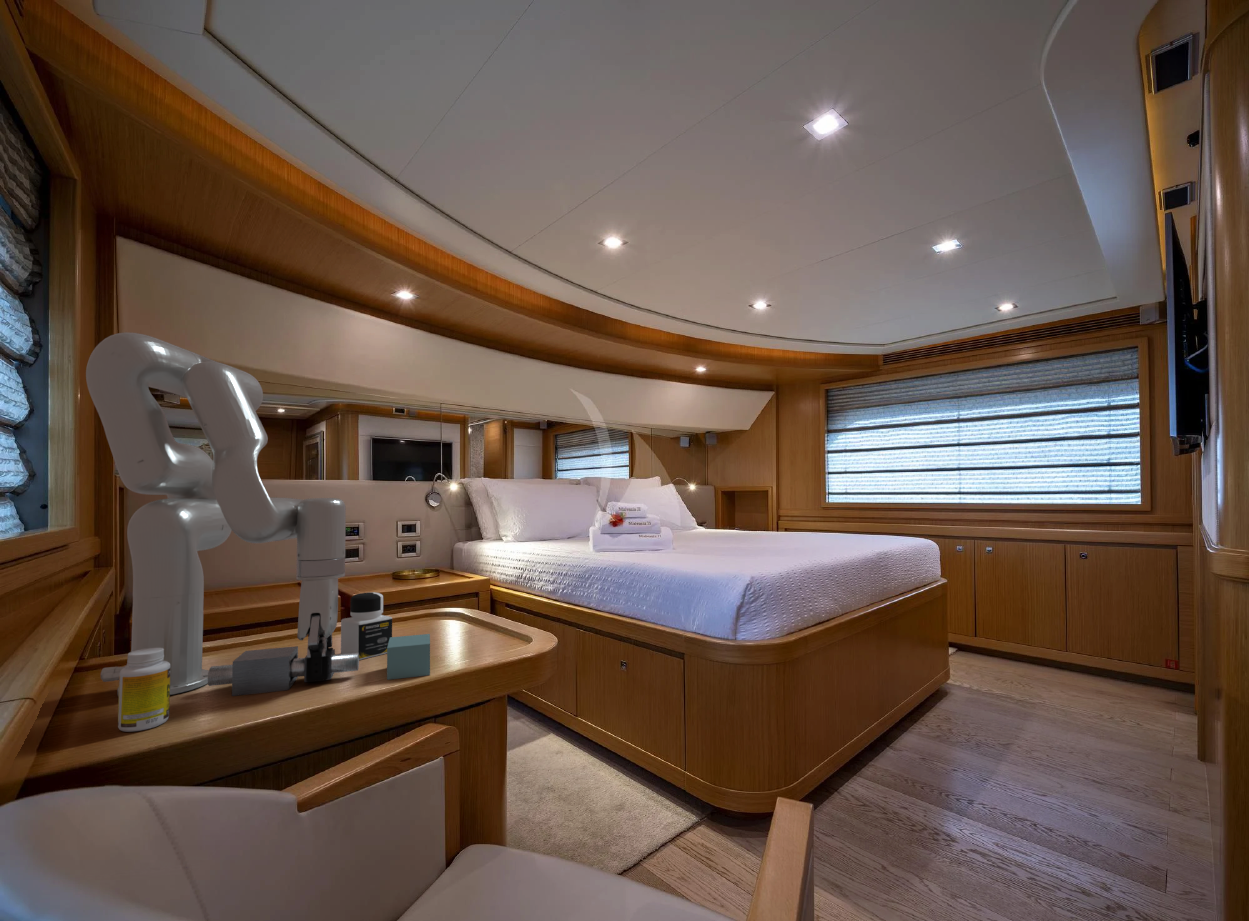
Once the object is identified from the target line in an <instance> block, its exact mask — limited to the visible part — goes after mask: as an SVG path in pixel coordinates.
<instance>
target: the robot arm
mask: <svg viewBox="0 0 1249 921" xmlns="http://www.w3.org/2000/svg"><path fill="white" fill-rule="evenodd" d="M85 369H86V370H85V379H86V380H85V381H86V386H87V390H88V392H89V395H90V397H91V400H92V402H93V405H94V407H95V409H96V412H97V414H98V416H99V418H100V421H101V424H102V426H103V430H104V433H105V434H104V435H105V437H106V440H107V443H108V445H109V448H110V451H111V454H112V457H113V458H112V459H113V461H114V463H115V467H116V470H117V472H118V475H119V478H120V480H121V482H122V483H123V485H124V487H126V488H127V489H128V490H130V491H131V492H133V493H137V494H141V495H151V496H152V495H154V496H156V495H159V496H162V495H163V496H166V497H167V498H163V499H157V500H154V501H150V502H148V503H145V504H143V505H142V506H141V507H139V508H137V510H135V512H134V513H133V514H132V516H131V518H130V519H129V521H128V524H127V529H126V530H127V532H126V533H127V534H126V535H127V536H126V537H127V542H128V548H129V551H130V557H131V564H132V616H131V620H132V621H131V622H132V623H131V645H130V646H131V650H130V652H133V651H136V650H141V649H147V648H163V649H164V659H163V660H162V661H167V662H169V663H170V696H173V695H176V694H181V693H185V692H188V691H193V690H196V689H198V688H201V687H203V686H205V685H208V672H209V669H203V644H204V643H203V639H204V637H203V635H204V599H205V598H204V594H205V593H204V592H205V587H204V586H205V581H204V580H205V576H204V569H203V565H202V562H201V559H200V556H199V551H206V550H207V551H208V550H210V549H215V548H217V547H219V546H220V545H222V544H223V543H225V542H226V541H227V539H228V538H229V537H230V535H231V533H232V532H233V533H234V534H235V535H236V536H237V537H238V538H239V539H241V540H242V541H244V542H246V543H251V544H265V543H270V542H279V541H286V540H292V539H296V575H295V576H296V577H295V578H296V580H297V581H301V585H300V591H299V603H298V604H299V605H298V619H297V621H298V622H297V639H298V641H303V640H304V639H305V638H306V637H307V650H306V651H307V653H306V655H307V660H306V681H307V682H306V683H312V682H321V681H328V680H327V678H328V655H326V650H331V649H334V648H333V633H334V631H335V629H336V628H337V624H338V612H339V579H340V578H344V577H345V576H346V528H347V527H346V523H347V522H346V519H347V518H346V517H347V516H346V514H347V513H346V503H345V502H344V500H343V499H340V498H335V497H315V498H313V497H312V498H305V499H301V498H293V497H292V498H291V497H277V496H276V497H270V496H269V494H268V492H267V490H266V487H265V486H264V484H263V482H262V479H261V477H260V474H259V469H258V457H259V454H260V452H261V450H262V449H263V448H264V447H266V446H267V444H268V439H269V438H268V434H267V432H266V430H265V428H264V426H263V424H262V421H261V419H260V418H259V416H258V414H257V410H259V408H260V406H261V405H262V404H263V400H264V391H263V388H262V386H261V384H260V382H259V381H258V379H256V377H255V376H254V375H252V374H251V373H248V372H247V371H244V370H242V369H240V368H237V367H235V366H231V365H228V364H226V363H223V362H220V361H216V360H214V359H211V358H208V357H205V356H203V355H201V354H198V353H196V352H193V351H191V350H188V349H186V348H183V347H180V346H178V345H175V344H172V343H170V342H167V341H165V340H162V339H159V338H156V337H154V336H151V335H147V334H143V333H138V332H127V331H125V332H119V333H115V334H111V335H109V336H107V337H105V338H104V339H103V340H101V341H100V342H99V343H98V344H97V345H96V346H95V347H94V349H93V351H92V352H91V354H90V356H89V358H88V361H87V365H86V368H85ZM149 388H152V389H157V390H160V391H164V392H168V393H172V394H175V395H178V396H180V397H183V398H186V399H187V401H188V403H189V405H190V407H191V409H192V412H193V413H194V415H195V417H196V419H197V421H198V424H199V426H200V428H201V430H202V432H203V434H204V436H205V439H206V441H207V443H208V445H209V447H210V449H211V452H212V455H213V459H212V458H211V457H210V456H209V454H207V453H206V452H205V451H204V450H203V449H202V448H200V447H197V446H195V445H192V444H188V443H181V442H178V441H176V439H175V438H174V435H173V434H172V432H171V428H170V426H169V423H168V420H167V417H166V414H165V411H164V410H163V409H162V406H161V405H160V404H159V403H158V401H157V400H156V399H155V396H153V395H152V393H151V391H150V389H149ZM127 666H128V665H127V664H126V665H124V666H110V667H103V668H102V670H101V672H100V679H101V680H102V682H103V683H107V682H115V681H119V674H120V671H121V670H122V669H123V668H125V667H127ZM117 697H119V686H118V687H117Z"/></svg>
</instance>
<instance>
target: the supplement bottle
mask: <svg viewBox="0 0 1249 921" xmlns="http://www.w3.org/2000/svg"><path fill="white" fill-rule="evenodd" d="M163 659H164V649H163V648H147V649H141V650H136V651H133V652H131V651H130V652H128V654H127V661H126V662H127V663H126V665H128V666H127V667H125V668H123V669H122V670H121V671H120V674H119V680H118V687H119V696H118V705H117V708H118V709H117V728H118V729H119V730H120V731H122V732H128V733H131V732H140V731H145V730H149V729H153V728H155V727H158V726H161V725H163V724H164V723H166V722H167V721H168V720H169V717H170V700H171V699H170V698H171V697H170V696H171V695H170V663H169V662H167V661H162V660H163Z"/></svg>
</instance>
